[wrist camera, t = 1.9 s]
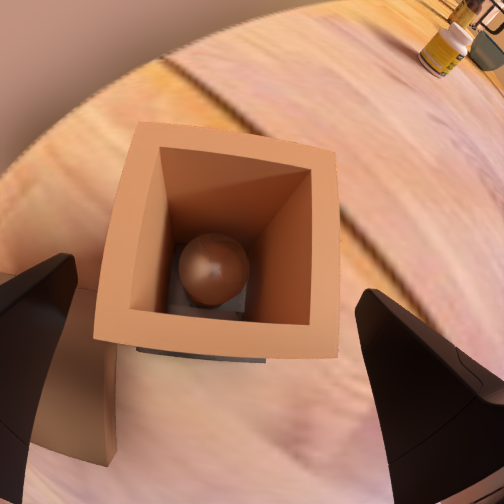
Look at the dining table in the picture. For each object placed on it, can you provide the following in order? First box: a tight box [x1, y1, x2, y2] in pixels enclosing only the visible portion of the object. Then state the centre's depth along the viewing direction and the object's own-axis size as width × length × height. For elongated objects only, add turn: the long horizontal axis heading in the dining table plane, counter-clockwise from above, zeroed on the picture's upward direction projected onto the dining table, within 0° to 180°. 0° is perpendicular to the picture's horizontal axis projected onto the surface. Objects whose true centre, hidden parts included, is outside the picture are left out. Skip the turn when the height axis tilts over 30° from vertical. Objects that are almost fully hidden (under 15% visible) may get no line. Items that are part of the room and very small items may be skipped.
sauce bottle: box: [448, 0, 485, 30], centre depth 39 cm, size 7×6×20 cm
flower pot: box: [470, 30, 504, 71], centre depth 38 cm, size 9×9×9 cm
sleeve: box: [93, 122, 341, 359], centre depth 10 cm, size 5×5×8 cm
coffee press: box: [471, 0, 504, 35], centre depth 48 cm, size 17×16×30 cm
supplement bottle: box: [418, 22, 473, 78], centre depth 26 cm, size 5×5×10 cm
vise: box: [136, 233, 266, 363], centre depth 13 cm, size 8×7×8 cm
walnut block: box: [0, 272, 117, 467], centre depth 12 cm, size 10×9×2 cm
